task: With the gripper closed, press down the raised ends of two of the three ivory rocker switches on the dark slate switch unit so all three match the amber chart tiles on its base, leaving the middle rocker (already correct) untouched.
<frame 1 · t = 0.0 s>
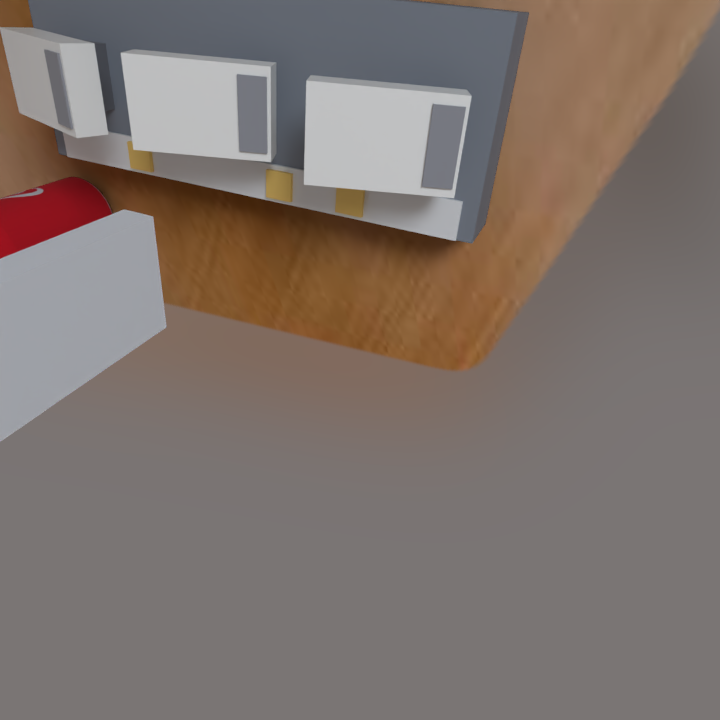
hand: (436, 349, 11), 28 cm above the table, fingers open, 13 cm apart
rocker a: (52, 80, 36), point 8 cm above the table, hinge at 20.0°
rocker c: (383, 138, 30), point 8 cm above the table, hinge at -20.0°
beverage can: (93, 210, 51), on the table
rocker b: (203, 106, 33), point 8 cm above the table, hinge at -20.0°
switch unit: (271, 91, 39), on the table
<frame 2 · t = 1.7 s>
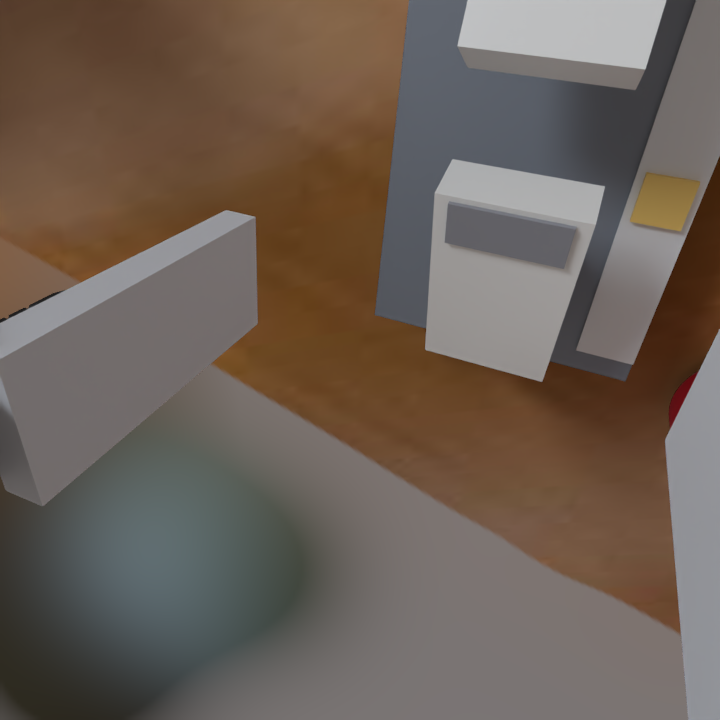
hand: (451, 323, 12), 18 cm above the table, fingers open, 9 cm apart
rocker a: (500, 281, 21), point 8 cm above the table, hinge at 20.0°
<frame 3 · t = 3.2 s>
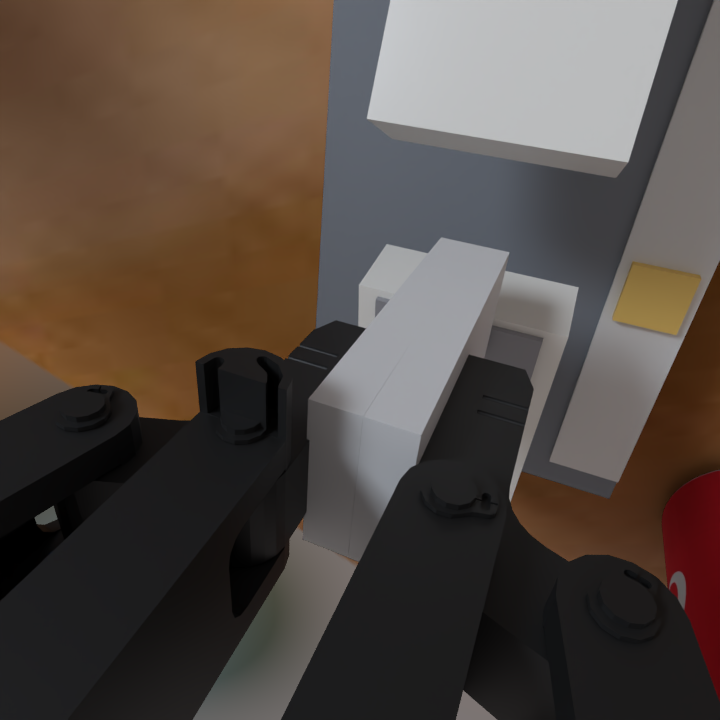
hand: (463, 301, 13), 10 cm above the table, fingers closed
rocker a: (448, 399, 17), point 8 cm above the table, hinge at 11.7°, touching gripper
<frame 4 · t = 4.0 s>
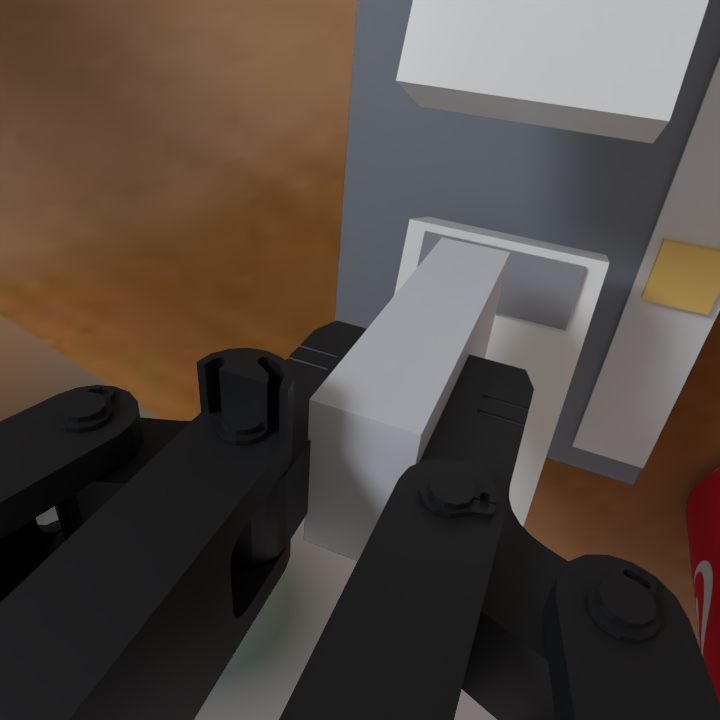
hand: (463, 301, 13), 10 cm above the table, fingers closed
rocker a: (472, 376, 16), point 8 cm above the table, hinge at -14.1°
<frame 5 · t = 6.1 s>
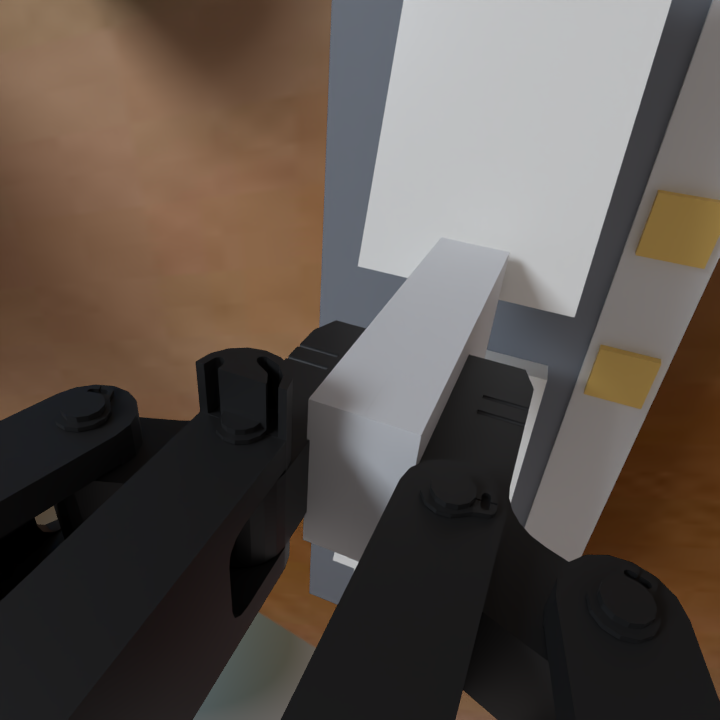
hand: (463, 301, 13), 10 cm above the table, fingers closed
rocker c: (509, 105, 12), point 8 cm above the table, hinge at -16.0°, touching gripper
rocker b: (435, 467, 19), point 8 cm above the table, hinge at -20.0°
switch unit: (483, 349, 25), on the table
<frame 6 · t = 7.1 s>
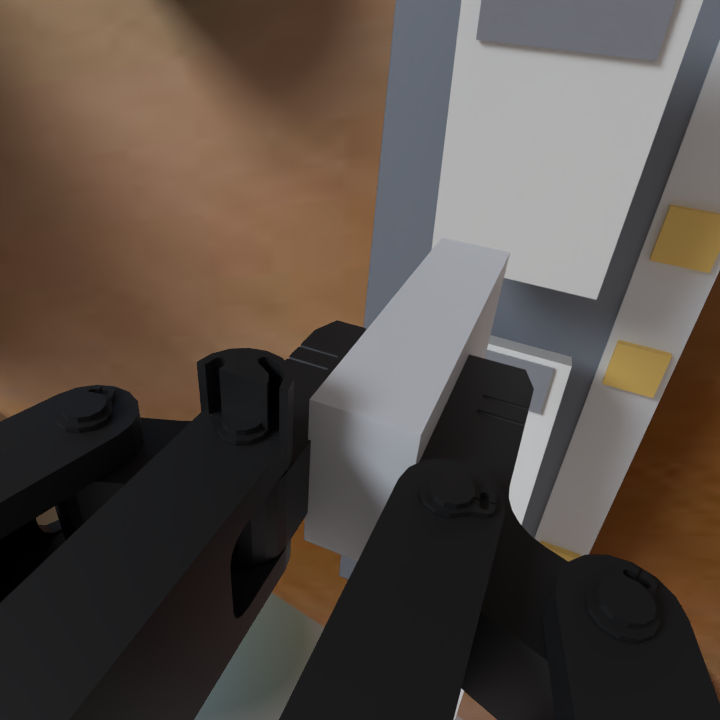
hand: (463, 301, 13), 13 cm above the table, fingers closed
rocker a: (426, 620, 27), point 8 cm above the table, hinge at -21.2°
rocker c: (546, 133, 15), point 8 cm above the table, hinge at 8.4°
rocker b: (469, 445, 21), point 8 cm above the table, hinge at -20.0°
switch unit: (509, 348, 27), on the table
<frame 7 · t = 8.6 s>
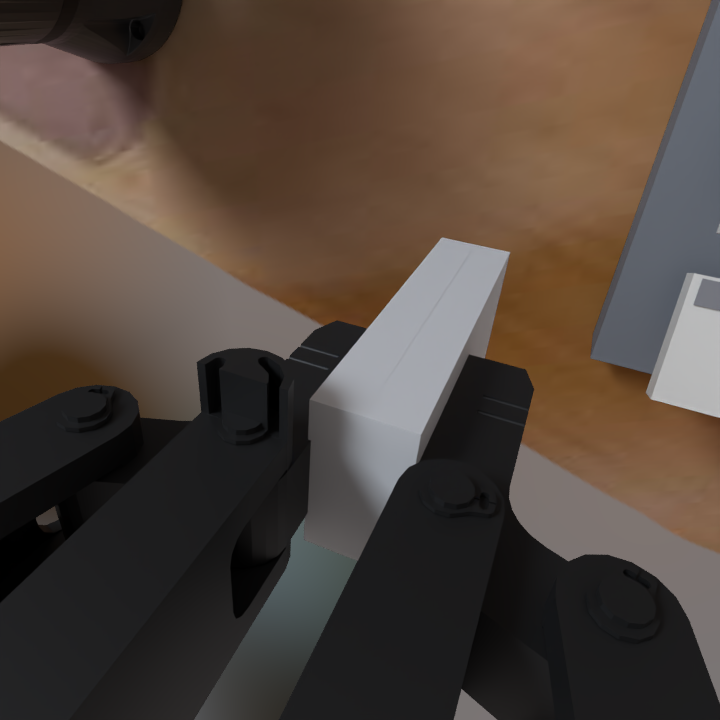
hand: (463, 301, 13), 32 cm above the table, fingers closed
rocker a: (712, 346, 35), point 8 cm above the table, hinge at -21.3°
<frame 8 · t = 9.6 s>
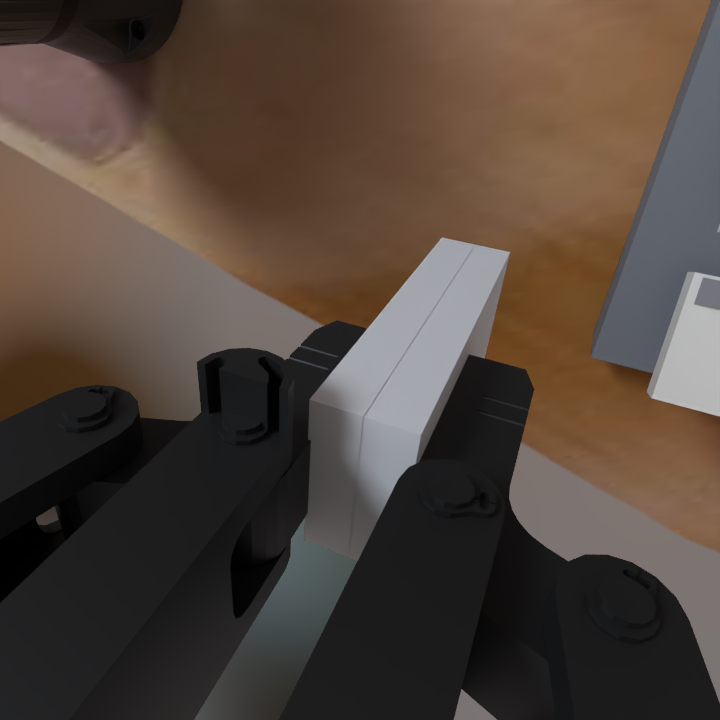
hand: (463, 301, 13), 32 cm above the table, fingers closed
rocker a: (713, 345, 35), point 8 cm above the table, hinge at -21.3°
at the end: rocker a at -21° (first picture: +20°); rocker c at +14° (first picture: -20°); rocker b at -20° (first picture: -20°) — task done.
